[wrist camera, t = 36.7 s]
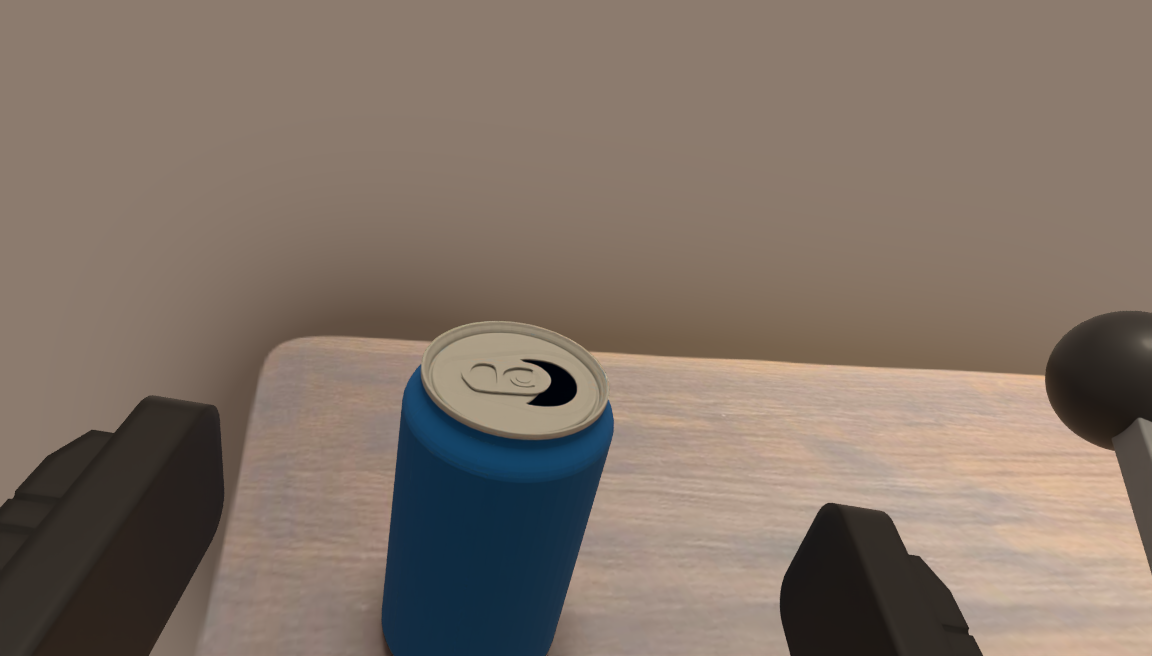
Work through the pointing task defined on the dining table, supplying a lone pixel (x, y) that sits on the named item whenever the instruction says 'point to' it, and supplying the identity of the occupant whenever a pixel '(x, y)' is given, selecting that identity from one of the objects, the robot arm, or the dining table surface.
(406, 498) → the beverage can
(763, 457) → the dining table surface
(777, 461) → the dining table surface
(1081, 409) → the press lever
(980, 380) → the dining table surface
